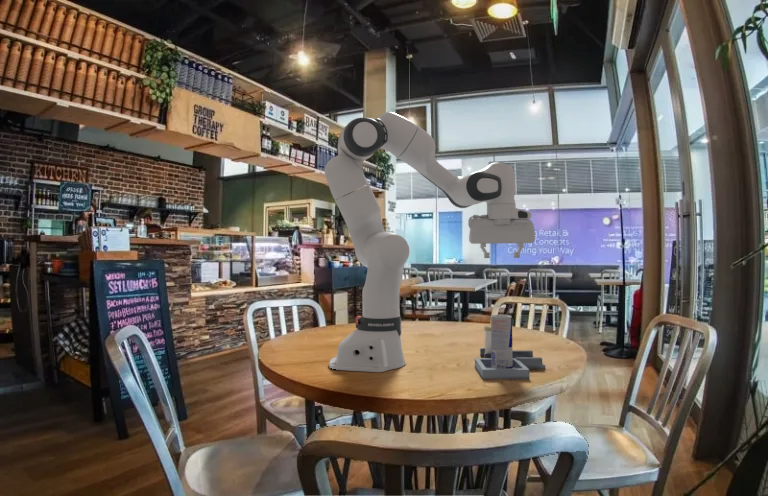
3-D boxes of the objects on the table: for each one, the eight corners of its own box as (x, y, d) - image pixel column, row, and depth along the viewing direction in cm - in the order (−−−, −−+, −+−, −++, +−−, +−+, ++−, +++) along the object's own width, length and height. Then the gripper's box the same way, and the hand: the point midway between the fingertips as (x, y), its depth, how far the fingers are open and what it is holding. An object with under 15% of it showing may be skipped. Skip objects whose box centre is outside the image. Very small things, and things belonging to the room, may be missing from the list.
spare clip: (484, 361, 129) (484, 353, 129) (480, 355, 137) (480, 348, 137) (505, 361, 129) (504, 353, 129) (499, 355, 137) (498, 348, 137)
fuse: (486, 360, 131) (485, 327, 131) (483, 356, 136) (482, 325, 136) (501, 360, 131) (500, 327, 131) (498, 356, 135) (497, 325, 136)
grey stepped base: (517, 369, 121) (517, 358, 121) (508, 360, 131) (508, 350, 131) (545, 369, 121) (545, 358, 121) (534, 360, 131) (534, 350, 131)
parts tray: (482, 379, 112) (482, 369, 112) (474, 367, 124) (474, 358, 124) (529, 379, 111) (529, 369, 111) (517, 367, 123) (517, 358, 123)
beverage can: (515, 372, 115) (515, 316, 115) (495, 373, 115) (494, 317, 115) (508, 367, 121) (507, 313, 121) (488, 367, 120) (488, 314, 121)
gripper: (469, 214, 134) (470, 258, 134) (536, 213, 133) (537, 257, 133) (466, 215, 140) (467, 258, 140) (530, 214, 139) (530, 257, 139)
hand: (501, 258), depth 136 cm, fingers open, 8 cm apart
